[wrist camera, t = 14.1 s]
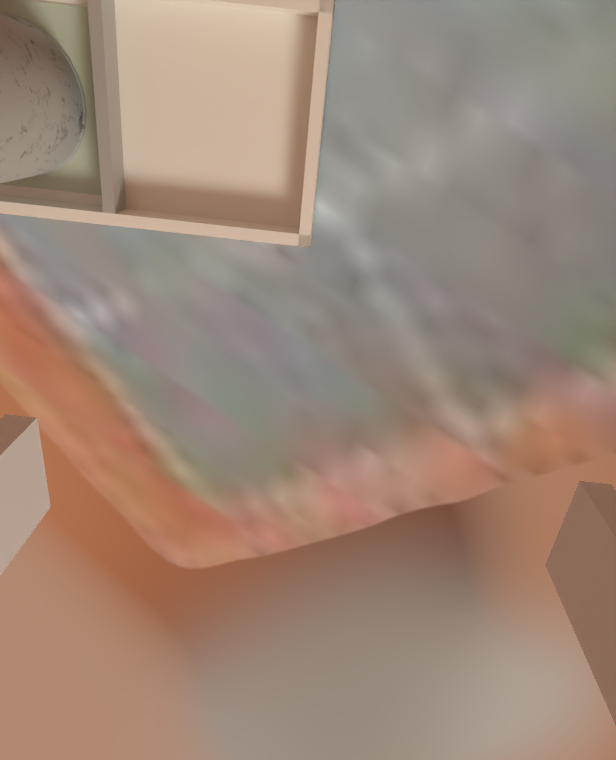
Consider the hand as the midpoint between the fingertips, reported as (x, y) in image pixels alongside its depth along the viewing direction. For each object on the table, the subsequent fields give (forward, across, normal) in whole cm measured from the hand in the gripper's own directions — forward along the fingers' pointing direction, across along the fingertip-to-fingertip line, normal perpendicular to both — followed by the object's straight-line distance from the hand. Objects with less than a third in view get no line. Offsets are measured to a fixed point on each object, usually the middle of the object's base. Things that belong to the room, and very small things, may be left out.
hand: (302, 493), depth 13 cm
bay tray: (+29, -15, +7) cm, 33 cm away
